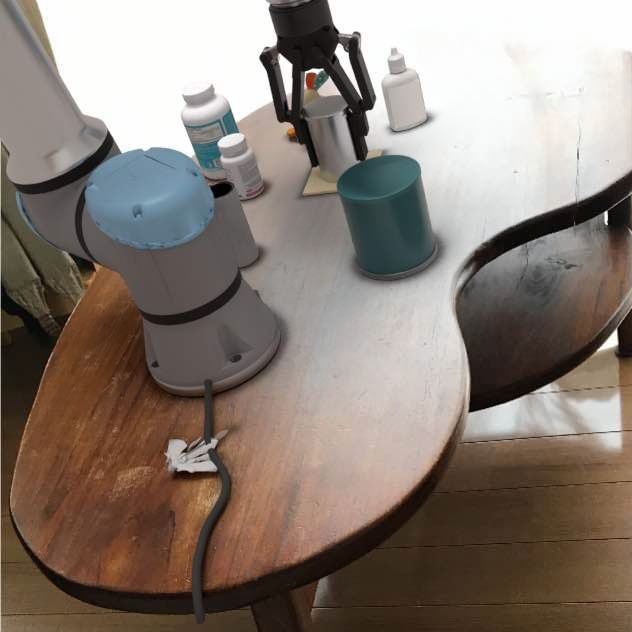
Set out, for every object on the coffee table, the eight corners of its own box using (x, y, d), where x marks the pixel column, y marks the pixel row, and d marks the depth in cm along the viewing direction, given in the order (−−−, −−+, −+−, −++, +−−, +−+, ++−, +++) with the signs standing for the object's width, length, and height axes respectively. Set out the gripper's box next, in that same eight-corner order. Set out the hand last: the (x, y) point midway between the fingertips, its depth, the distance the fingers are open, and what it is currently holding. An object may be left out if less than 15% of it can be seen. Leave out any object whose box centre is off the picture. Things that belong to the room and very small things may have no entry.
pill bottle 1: (229, 153, 139) (201, 72, 131) (259, 161, 135) (231, 78, 126) (194, 176, 136) (162, 95, 128) (223, 185, 131) (192, 102, 123)
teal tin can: (433, 276, 102) (415, 194, 95) (350, 283, 104) (327, 204, 97) (441, 228, 109) (426, 149, 102) (364, 236, 112) (344, 159, 105)
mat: (371, 188, 121) (370, 185, 120) (303, 196, 123) (302, 193, 123) (382, 152, 128) (381, 150, 128) (317, 160, 131) (316, 158, 130)
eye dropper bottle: (425, 128, 131) (410, 50, 123) (389, 133, 132) (371, 56, 125) (428, 115, 134) (414, 38, 126) (393, 119, 135) (376, 44, 128)
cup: (362, 180, 122) (345, 114, 116) (315, 186, 124) (296, 121, 118) (369, 156, 127) (354, 91, 121) (325, 162, 129) (307, 98, 123)
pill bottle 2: (267, 181, 129) (250, 129, 124) (261, 198, 126) (243, 145, 120) (237, 186, 130) (218, 134, 125) (230, 202, 127) (211, 150, 121)
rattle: (327, 120, 141) (308, 51, 133) (347, 136, 134) (329, 65, 127) (285, 137, 139) (264, 68, 132) (303, 155, 133) (282, 83, 126)
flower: (208, 424, 92) (202, 404, 91) (255, 454, 87) (250, 433, 86) (148, 461, 88) (141, 440, 87) (194, 495, 83) (188, 473, 82)
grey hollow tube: (253, 267, 112) (227, 198, 105) (221, 269, 113) (193, 201, 107) (263, 247, 115) (238, 178, 109) (231, 249, 117) (205, 182, 110)
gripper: (374, -29, 110) (410, 137, 124) (232, -2, 115) (282, 154, 130) (365, -7, 104) (403, 164, 119) (216, 20, 110) (270, 181, 124)
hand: (340, 159), depth 124 cm, fingers closed on cup, 6 cm apart
